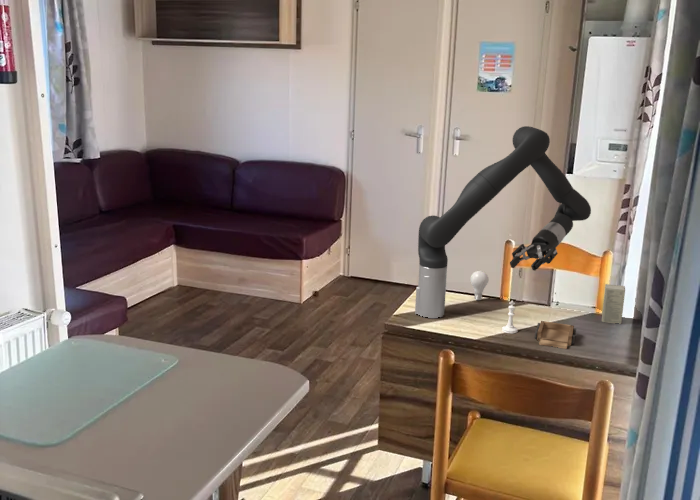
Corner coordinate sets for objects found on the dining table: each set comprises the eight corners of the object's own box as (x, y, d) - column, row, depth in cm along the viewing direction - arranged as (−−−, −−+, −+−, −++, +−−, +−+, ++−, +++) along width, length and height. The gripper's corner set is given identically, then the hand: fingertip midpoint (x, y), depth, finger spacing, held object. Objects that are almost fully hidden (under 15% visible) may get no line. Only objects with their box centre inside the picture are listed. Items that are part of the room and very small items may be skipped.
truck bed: (533, 343, 207) (533, 334, 206) (537, 329, 219) (538, 320, 218) (572, 349, 203) (573, 340, 202) (575, 334, 215) (576, 325, 214)
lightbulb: (488, 303, 242) (490, 273, 239) (470, 303, 242) (472, 273, 239) (485, 297, 248) (487, 268, 245) (467, 297, 248) (469, 268, 245)
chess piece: (519, 333, 215) (521, 303, 212) (503, 333, 215) (506, 303, 212) (515, 327, 219) (518, 298, 217) (500, 327, 219) (502, 298, 217)
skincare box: (620, 320, 229) (625, 285, 225) (621, 324, 225) (626, 289, 221) (600, 317, 231) (605, 283, 227) (601, 322, 226) (605, 287, 223)
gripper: (527, 227, 230) (500, 256, 223) (563, 229, 219) (536, 259, 212) (535, 245, 233) (508, 274, 226) (570, 248, 222) (544, 278, 215)
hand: (522, 267), depth 219 cm, fingers open, 8 cm apart
